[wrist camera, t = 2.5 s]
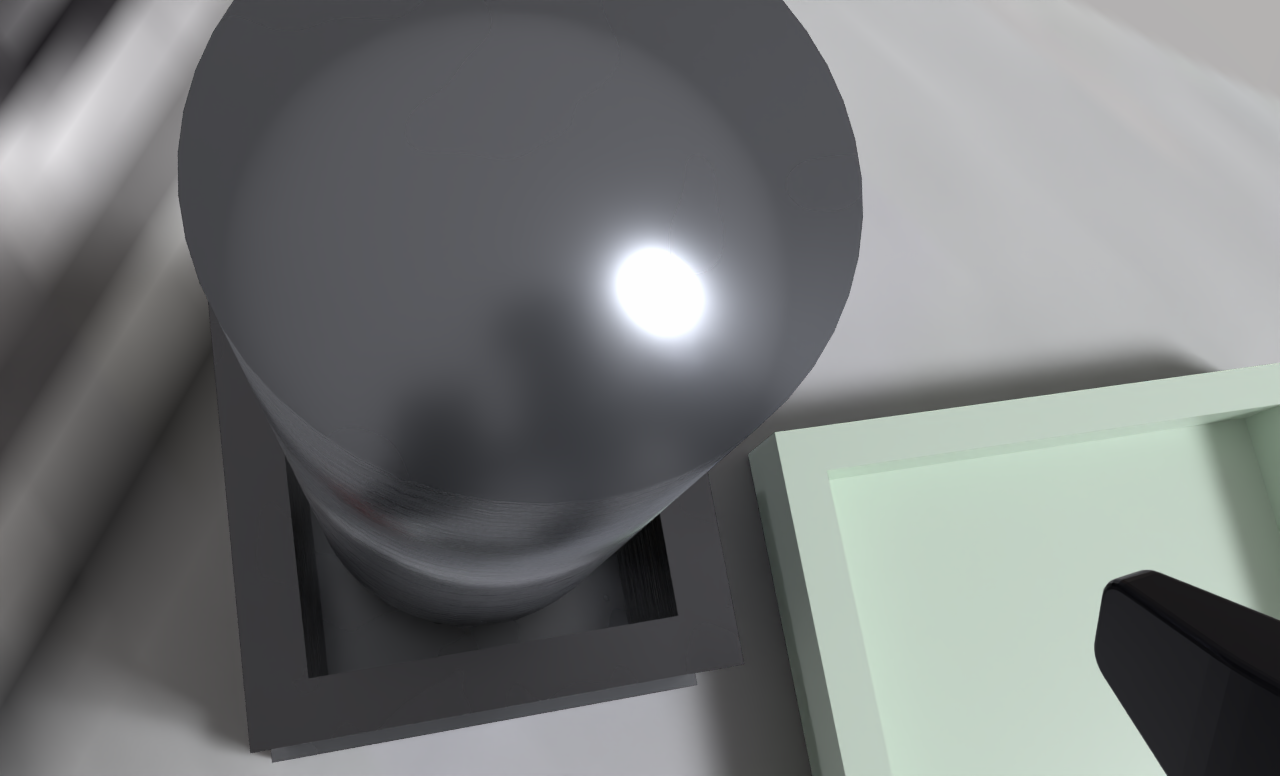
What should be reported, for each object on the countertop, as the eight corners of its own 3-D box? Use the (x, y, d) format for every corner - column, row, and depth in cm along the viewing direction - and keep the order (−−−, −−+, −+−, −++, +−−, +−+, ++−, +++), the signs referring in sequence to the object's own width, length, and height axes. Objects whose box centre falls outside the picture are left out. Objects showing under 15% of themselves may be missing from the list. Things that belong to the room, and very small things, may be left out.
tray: (1419, 944, 23) (1501, 962, 21) (874, 1088, 20) (917, 1122, 18) (1247, 383, 25) (1308, 359, 23) (748, 454, 23) (775, 432, 21)
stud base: (684, 686, 21) (744, 678, 18) (279, 760, 20) (245, 769, 16) (619, 316, 23) (659, 233, 19) (239, 359, 22) (200, 279, 18)
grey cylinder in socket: (683, 674, 20) (1127, 594, 8) (284, 747, 19) (7, 796, 6) (618, 310, 22) (896, -264, 9) (244, 352, 21) (-42, -257, 8)
